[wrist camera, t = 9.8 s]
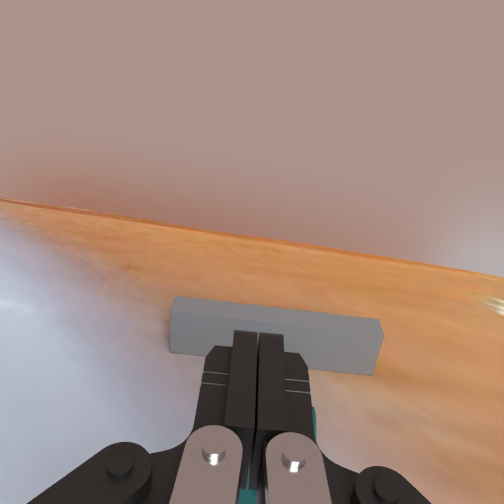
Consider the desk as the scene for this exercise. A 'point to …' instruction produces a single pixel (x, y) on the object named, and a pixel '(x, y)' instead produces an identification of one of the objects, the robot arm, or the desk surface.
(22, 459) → the desk surface
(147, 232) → the desk surface
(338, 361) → the board
